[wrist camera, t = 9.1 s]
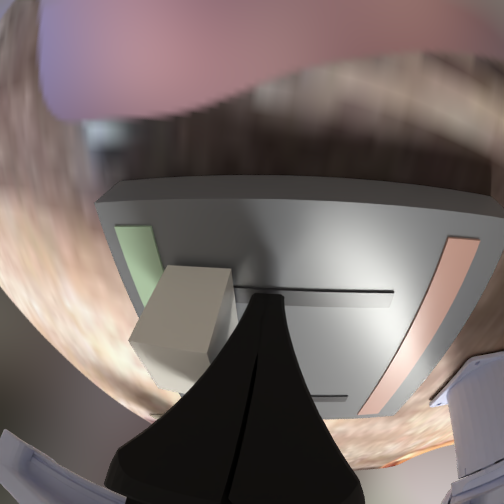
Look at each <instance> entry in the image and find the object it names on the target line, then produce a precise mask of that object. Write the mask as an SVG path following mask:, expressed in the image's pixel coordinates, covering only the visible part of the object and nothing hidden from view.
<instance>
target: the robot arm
mask: <svg viewBox="0 0 504 504" xmlns="http://www.w3.org/2000/svg"><path fill="white" fill-rule="evenodd" d="M284 299H285V297H284V296H283V295H282V294H266V293H254V294H253V295H252V296H251V298H250V301H249V303H248V305H247V307H246V309H245V311H244V313H243V315H242V317H241V319H240V321H239V323H238V324H237V326H236V328H235V329H234V331H233V333H232V334H231V336H230V337H229V339H228V341H227V342H226V344H225V345H224V347H223V348H222V349H221V351H220V352H219V354H218V355H217V356H216V358H215V359H214V361H213V362H212V363H211V365H210V366H209V367H208V368H207V370H206V371H205V372H204V373H203V375H202V376H201V377H200V378H199V379H198V380H197V382H196V383H195V384H194V385H193V386H192V387H191V388H190V389H189V390H188V391H187V392H186V393H185V395H184V396H183V397H182V398H181V399H180V400H179V401H178V402H177V403H176V404H175V405H174V406H172V407H171V408H170V409H169V410H168V411H167V412H166V413H165V414H163V415H162V416H161V417H160V418H159V419H158V420H156V421H155V422H154V423H153V424H152V425H151V426H149V427H148V428H147V429H145V430H144V431H143V432H141V433H140V434H139V435H137V436H136V437H134V438H133V439H131V440H130V441H129V442H127V443H126V444H124V445H123V446H121V447H120V448H119V449H118V450H117V452H116V454H115V456H114V458H113V459H112V461H111V463H110V466H109V469H108V472H107V476H106V479H105V482H104V485H105V486H106V487H107V488H108V489H110V490H112V491H110V490H108V489H106V488H103V487H101V486H99V485H97V484H95V483H93V482H91V481H89V480H87V479H85V478H83V477H81V476H79V475H77V474H75V473H73V472H72V471H70V470H68V469H66V468H64V467H63V466H61V465H60V464H58V463H56V462H55V460H54V459H52V458H51V457H49V456H47V455H46V454H44V453H43V452H41V451H40V450H38V449H36V448H35V447H33V446H31V445H29V444H27V443H25V442H24V441H22V440H21V439H19V438H18V437H17V436H15V435H14V434H12V433H11V432H9V431H8V430H6V429H4V431H3V433H2V435H1V438H0V483H1V484H2V485H3V487H4V488H5V489H7V491H8V492H9V493H10V494H11V495H12V496H13V497H14V498H15V499H16V500H17V501H18V502H19V504H365V498H364V494H363V490H362V487H361V484H360V481H359V479H358V477H357V476H356V474H355V473H354V471H353V470H352V468H351V467H350V465H349V464H348V462H347V461H346V459H345V458H344V456H343V455H342V453H341V451H340V450H339V448H338V446H337V445H336V443H335V441H334V440H333V438H332V436H331V434H330V432H329V431H328V429H327V427H326V425H325V423H324V421H323V419H322V417H321V416H320V414H319V412H318V409H317V407H316V405H315V403H314V401H313V399H312V396H311V394H310V392H309V390H308V387H307V385H306V382H305V380H304V377H303V375H302V372H301V369H300V366H299V363H298V361H297V357H296V354H295V351H294V348H293V344H292V341H291V337H290V333H289V329H288V324H287V319H286V313H285V303H284ZM446 404H448V407H449V412H450V418H451V424H452V430H453V436H454V443H455V451H456V459H457V469H458V479H460V478H463V477H466V476H468V477H466V478H463V479H461V480H459V481H456V482H453V483H452V484H451V489H450V490H449V491H448V493H447V494H446V496H445V498H444V499H443V501H442V503H441V504H504V351H501V352H496V353H491V354H486V355H480V356H474V357H471V358H470V359H468V360H467V362H466V363H465V364H464V365H463V366H462V368H461V369H460V370H459V371H458V372H457V374H456V375H455V376H454V377H453V378H452V379H451V380H450V382H449V383H448V384H447V385H446V386H445V387H444V388H443V389H442V390H441V391H440V392H439V393H438V395H437V396H436V397H435V398H434V399H433V400H432V401H431V402H430V403H429V405H430V407H436V406H441V405H446ZM472 474H473V475H472ZM469 475H470V476H469ZM113 491H114V492H113ZM115 492H116V493H115ZM117 493H119V494H117ZM120 494H121V495H120ZM122 495H123V496H122ZM125 496H126V497H125Z"/></svg>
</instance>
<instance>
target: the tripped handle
mask: <svg viewBox="0 0 504 504" xmlns="http://www.w3.org/2000/svg"><path fill="white" fill-rule="evenodd" d="M237 324H238V318H237V310H236V303H235V295H234V287H233V279H232V271H231V269H229V268H209V267H191V266H174V265H167V267H166V269H165V270H164V272H163V274H162V276H161V278H160V280H159V282H158V283H157V285H156V287H155V289H154V291H153V293H152V295H151V297H150V299H149V300H148V302H147V304H146V306H145V308H144V310H143V312H142V314H141V316H140V318H139V320H138V322H137V324H136V326H135V328H134V330H133V332H132V334H131V336H130V338H129V340H128V341H129V342H130V344H131V346H132V348H133V349H134V351H135V353H136V354H137V356H138V357H139V359H140V361H141V362H142V364H143V365H144V367H145V369H146V370H147V372H148V373H149V375H150V376H151V378H152V379H153V381H154V382H155V384H156V385H157V387H158V388H159V389H164V390H168V391H173V392H178V393H184V394H185V393H186V392H187V391H188V390H189V389H190V388H191V387H192V386H193V385H194V384H195V383H196V382H197V380H198V379H199V378H200V377H201V376H202V375H203V373H204V372H205V371H206V370H207V368H208V367H209V366H210V365H211V363H212V362H213V361H214V359H215V358H216V356H217V355H218V354H219V352H220V351H221V349H222V348H223V347H224V345H225V344H226V342H227V341H228V339H229V337H230V336H231V334H232V333H233V331H234V329H235V328H236V326H237Z"/></svg>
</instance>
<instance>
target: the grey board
mask: <svg viewBox="0 0 504 504" xmlns="http://www.w3.org/2000/svg"><path fill="white" fill-rule="evenodd" d="M94 204H95V207H96V210H97V213H98V216H99V219H100V222H101V225H102V228H103V231H104V234H105V237H106V240H107V242H108V245H109V248H110V251H111V253H112V256H113V259H114V261H115V264H116V266H117V269H118V271H119V274H120V276H121V279H122V281H123V283H124V286H125V288H126V290H127V293H128V295H129V297H130V300H131V302H132V304H133V306H134V308H135V311H136V313H137V315H138V317H139V318H140V316H141V314H142V312H143V310H144V308H145V306H146V304H147V302H148V300H149V299H150V297H151V295H152V293H153V291H154V289H155V287H156V285H157V283H158V282H159V280H160V278H161V276H162V274H163V272H164V270H165V269H166V267H167V265H174V266H191V267H209V268H229V269H231V271H232V279H233V287H234V295H235V303H236V310H237V318H238V323H239V321H240V319H241V317H242V315H243V313H244V311H245V309H246V307H247V305H248V303H249V301H250V298H251V296H252V295H253V294H254V293H266V294H282V295H283V296H284V297H285V299H284V303H285V313H286V319H287V324H288V329H289V333H290V337H291V341H292V344H293V348H294V351H295V354H296V357H297V361H298V363H299V366H300V369H301V372H302V375H303V377H304V380H305V382H306V385H307V387H308V390H309V392H310V394H311V396H312V399H313V401H314V403H315V405H316V407H317V409H318V412H319V414H320V416H321V417H322V419H354V418H370V417H383V416H393V415H395V414H396V412H397V411H398V410H399V409H400V408H401V407H402V406H403V405H404V404H405V403H406V402H407V400H408V399H409V398H410V397H411V396H412V395H413V394H414V392H415V391H416V390H417V389H418V388H419V387H420V385H421V384H422V383H423V382H424V380H425V379H426V378H427V377H428V375H429V374H430V373H431V372H432V370H433V369H434V368H435V366H436V365H437V364H438V362H439V361H440V360H441V358H442V357H443V356H444V354H445V353H446V351H447V350H448V349H449V347H450V346H451V344H452V343H453V341H454V340H455V338H456V337H457V335H458V334H459V332H460V331H461V329H462V328H463V326H464V324H465V323H466V321H467V320H468V318H469V316H470V315H471V313H472V311H473V310H474V308H475V306H476V304H477V303H478V301H479V299H480V297H481V295H482V293H483V292H484V290H485V288H486V286H487V284H488V282H489V280H490V278H491V276H492V274H493V272H494V270H495V268H496V266H497V263H498V261H499V259H500V257H501V255H502V252H503V250H504V208H503V207H502V206H501V205H500V204H499V203H498V202H497V201H496V200H494V199H493V198H492V197H491V196H487V195H481V194H476V193H470V192H464V191H458V190H452V189H445V188H438V187H431V186H423V185H415V184H406V183H397V182H387V181H377V180H365V179H351V178H336V177H317V176H289V175H213V176H185V177H166V178H151V179H137V180H126V181H119V182H118V183H117V184H116V185H115V186H113V187H112V188H111V189H110V190H109V191H107V192H106V193H105V194H104V195H103V196H102V197H100V198H99V199H98V200H97V201H96V202H95V203H94ZM179 394H180V396H181V397H183V396H184V395H185V394H184V393H179Z"/></svg>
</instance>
